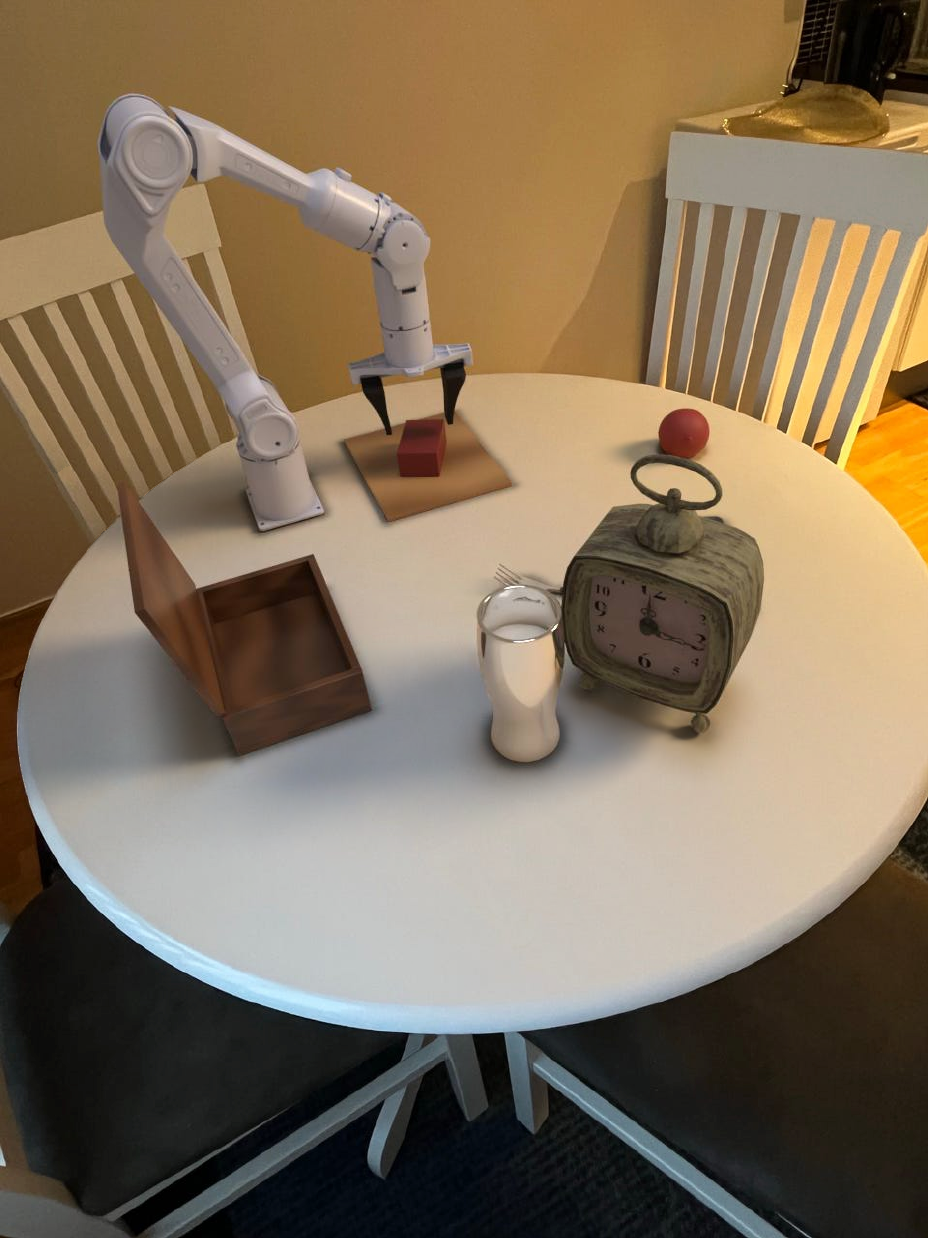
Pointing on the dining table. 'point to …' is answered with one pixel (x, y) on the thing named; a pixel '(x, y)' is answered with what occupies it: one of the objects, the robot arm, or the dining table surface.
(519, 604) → the beer glass
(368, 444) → the wooden board
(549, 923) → the dining table surface
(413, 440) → the dark-red plain block
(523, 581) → the fork
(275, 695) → the chest
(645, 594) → the tabletop clock
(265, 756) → the dining table surface
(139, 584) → the lid
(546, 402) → the dining table surface
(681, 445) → the fruit
